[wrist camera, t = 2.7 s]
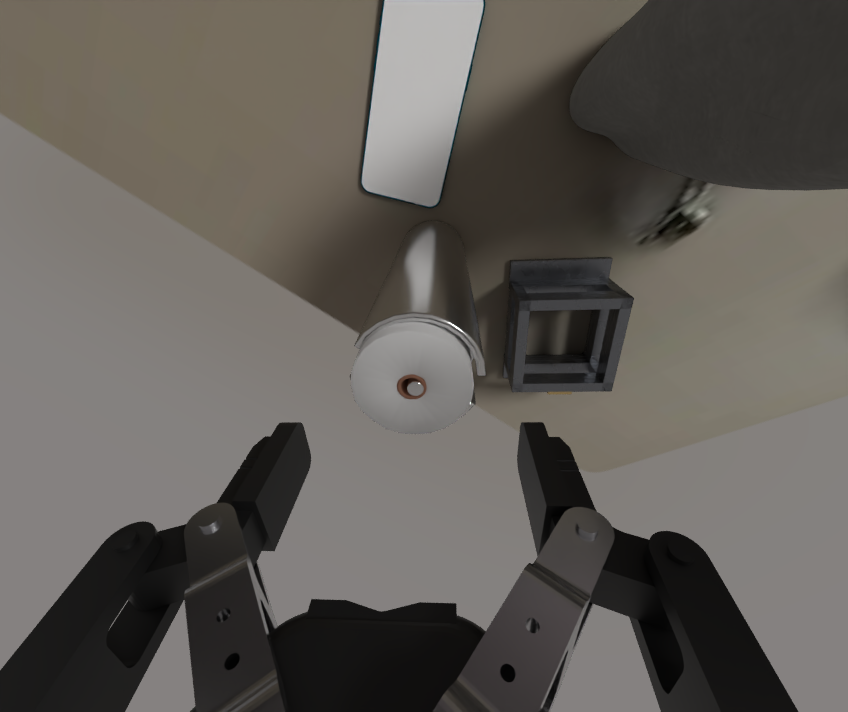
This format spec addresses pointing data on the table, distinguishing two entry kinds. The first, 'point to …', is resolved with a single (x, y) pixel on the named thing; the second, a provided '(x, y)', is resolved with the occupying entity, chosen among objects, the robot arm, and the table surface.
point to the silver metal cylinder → (420, 337)
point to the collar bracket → (565, 290)
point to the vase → (726, 91)
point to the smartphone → (418, 96)
